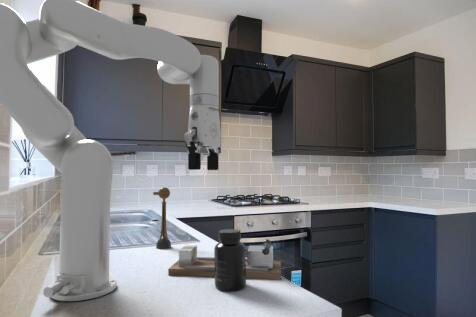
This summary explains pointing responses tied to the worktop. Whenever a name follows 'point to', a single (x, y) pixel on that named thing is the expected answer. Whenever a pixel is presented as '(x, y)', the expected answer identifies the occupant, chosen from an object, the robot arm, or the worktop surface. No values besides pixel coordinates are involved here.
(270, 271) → the vise base
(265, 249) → the block
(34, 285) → the worktop surface
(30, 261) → the worktop surface
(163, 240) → the wooden tabletop sculpture
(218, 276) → the supplement bottle
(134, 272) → the worktop surface
